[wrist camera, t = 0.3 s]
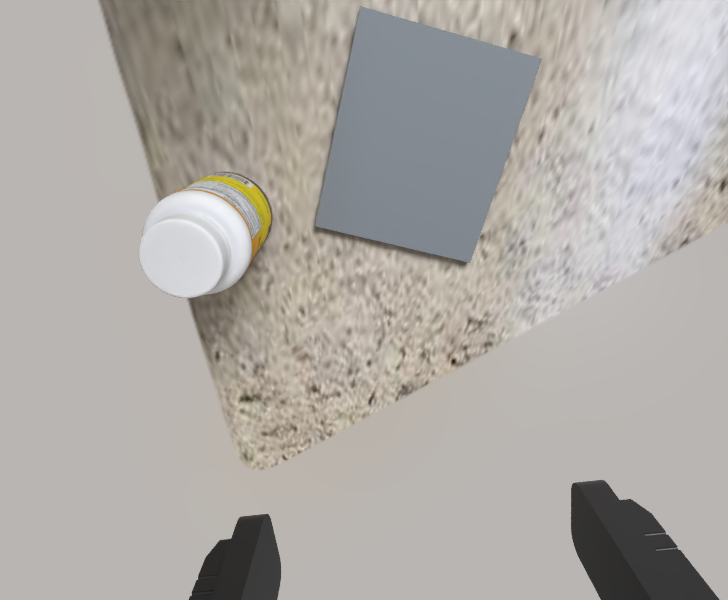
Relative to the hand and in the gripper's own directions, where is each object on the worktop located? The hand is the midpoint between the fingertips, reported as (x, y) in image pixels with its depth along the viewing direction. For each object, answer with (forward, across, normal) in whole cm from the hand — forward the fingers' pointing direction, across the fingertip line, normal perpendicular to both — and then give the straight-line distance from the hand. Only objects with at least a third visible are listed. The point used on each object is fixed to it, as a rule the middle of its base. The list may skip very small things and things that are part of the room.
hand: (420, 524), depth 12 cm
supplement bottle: (+22, +10, -7) cm, 25 cm away
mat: (+21, -3, -9) cm, 24 cm away
